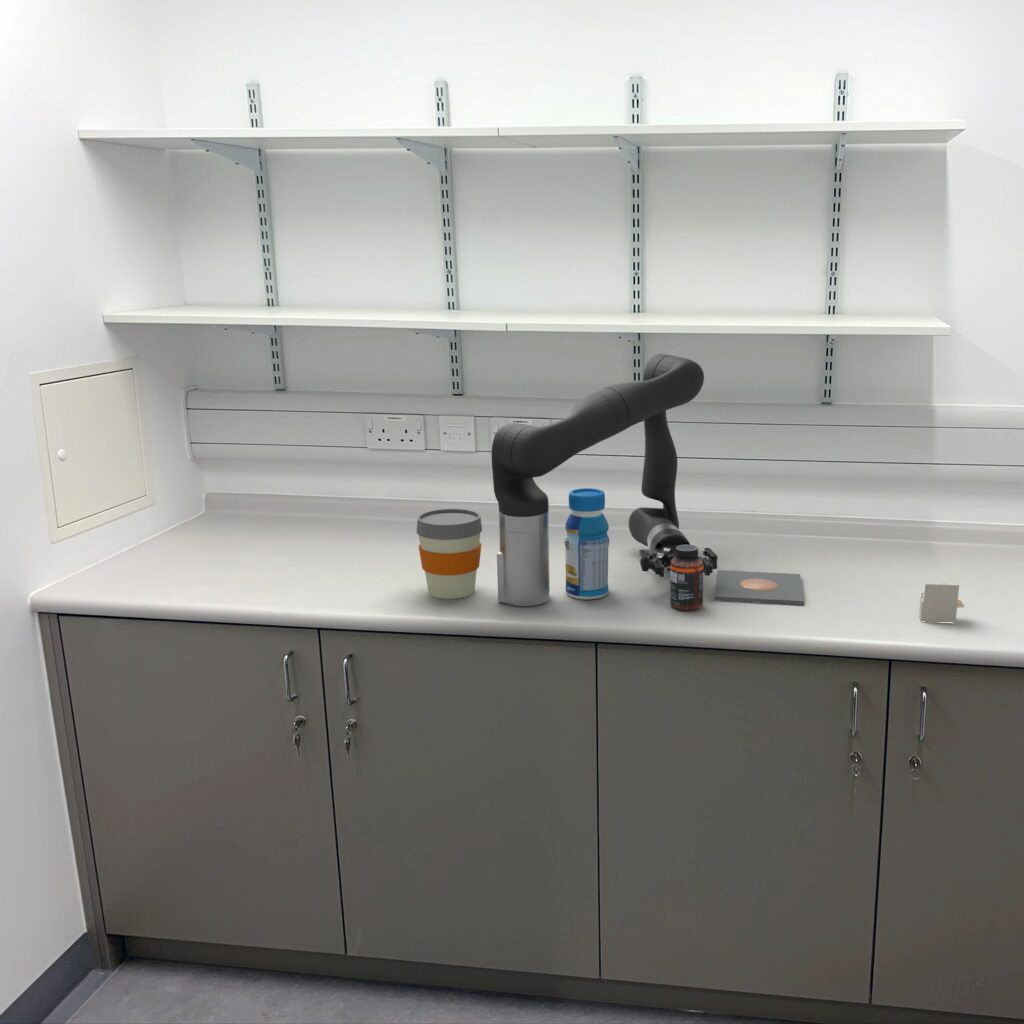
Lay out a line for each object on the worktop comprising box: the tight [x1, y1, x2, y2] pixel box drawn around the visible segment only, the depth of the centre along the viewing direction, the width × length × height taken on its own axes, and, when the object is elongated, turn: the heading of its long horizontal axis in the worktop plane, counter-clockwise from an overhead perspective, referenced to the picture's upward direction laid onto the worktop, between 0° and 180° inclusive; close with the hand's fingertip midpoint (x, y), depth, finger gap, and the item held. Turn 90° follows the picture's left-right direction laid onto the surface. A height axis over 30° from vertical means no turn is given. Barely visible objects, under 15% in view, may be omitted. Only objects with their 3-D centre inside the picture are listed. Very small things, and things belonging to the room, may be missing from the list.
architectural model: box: [918, 581, 965, 623], centre depth 183 cm, size 3×7×7 cm, turn 80°
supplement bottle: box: [669, 544, 704, 612], centre depth 191 cm, size 6×6×11 cm
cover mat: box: [714, 569, 805, 606], centre depth 201 cm, size 16×16×1 cm
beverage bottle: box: [563, 487, 610, 601], centre depth 198 cm, size 8×8×20 cm
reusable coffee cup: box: [416, 508, 483, 600], centre depth 201 cm, size 12×13×15 cm
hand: (685, 571), depth 192 cm, fingers open, 8 cm apart
